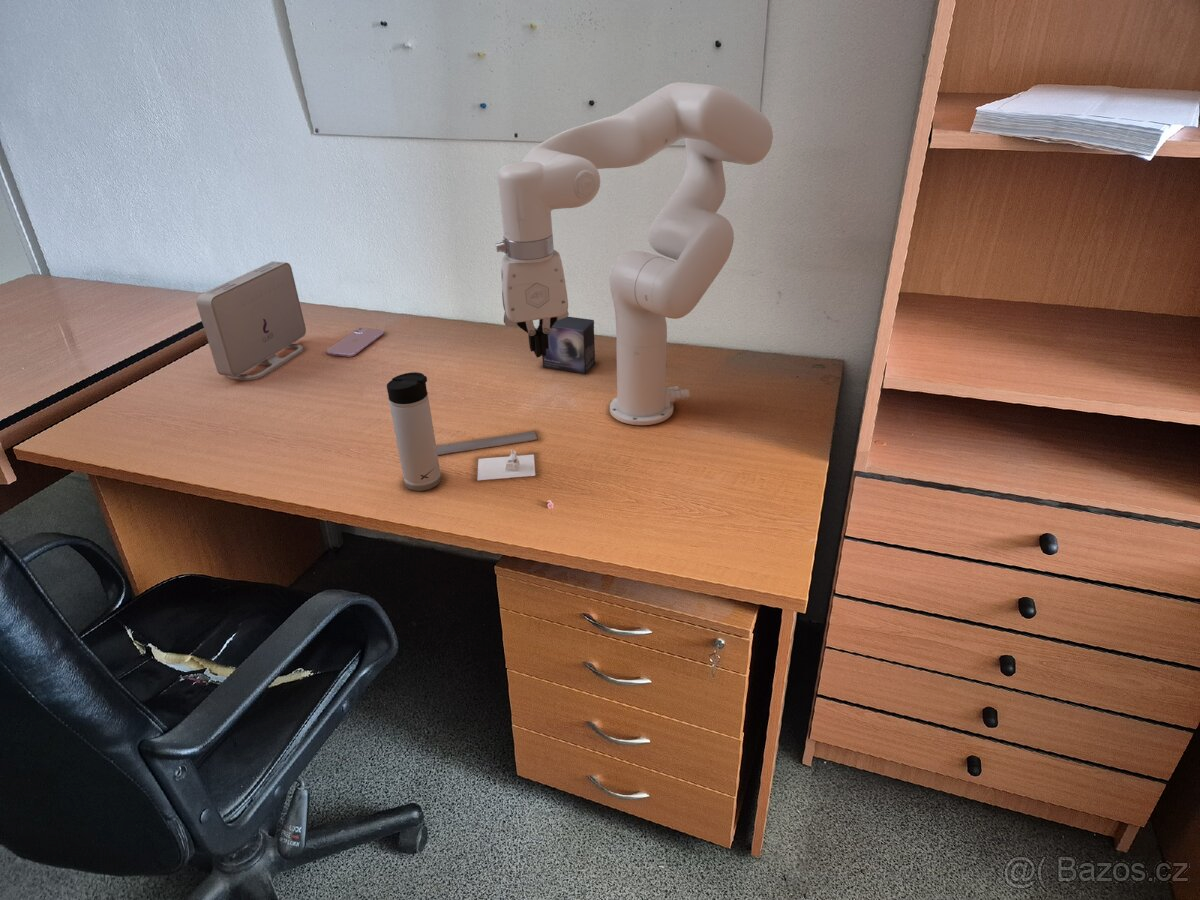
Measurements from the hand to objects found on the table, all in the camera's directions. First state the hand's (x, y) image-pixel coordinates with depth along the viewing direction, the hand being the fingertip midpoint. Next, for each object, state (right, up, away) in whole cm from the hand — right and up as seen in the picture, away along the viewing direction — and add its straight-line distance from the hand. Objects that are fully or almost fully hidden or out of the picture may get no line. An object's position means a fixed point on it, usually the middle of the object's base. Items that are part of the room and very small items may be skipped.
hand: (539, 353), depth 132 cm
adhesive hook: (-6, -19, +7) cm, 22 cm away
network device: (-67, +4, +48) cm, 82 cm away
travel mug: (-20, -22, +3) cm, 30 cm away
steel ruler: (-12, -15, +14) cm, 24 cm away
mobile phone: (-48, +9, +56) cm, 74 cm away
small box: (+3, +2, +42) cm, 42 cm away
